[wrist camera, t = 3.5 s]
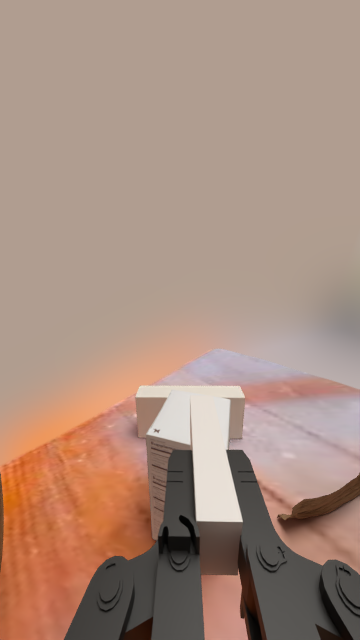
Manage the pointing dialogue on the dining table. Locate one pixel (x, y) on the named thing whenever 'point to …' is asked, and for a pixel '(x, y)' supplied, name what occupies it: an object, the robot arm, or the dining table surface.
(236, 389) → the white rectangular block
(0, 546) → the plant pot
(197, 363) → the dining table surface
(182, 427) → the supplement box
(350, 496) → the brown bark piece
